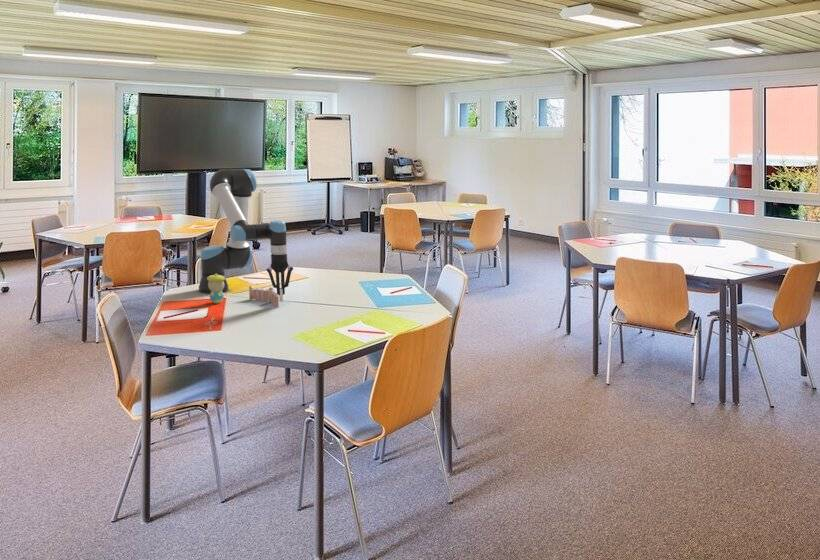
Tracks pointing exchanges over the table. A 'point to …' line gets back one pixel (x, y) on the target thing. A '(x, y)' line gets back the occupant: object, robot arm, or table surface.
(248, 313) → the table surface
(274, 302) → the fence wing
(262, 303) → the card
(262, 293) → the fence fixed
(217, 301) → the toy
